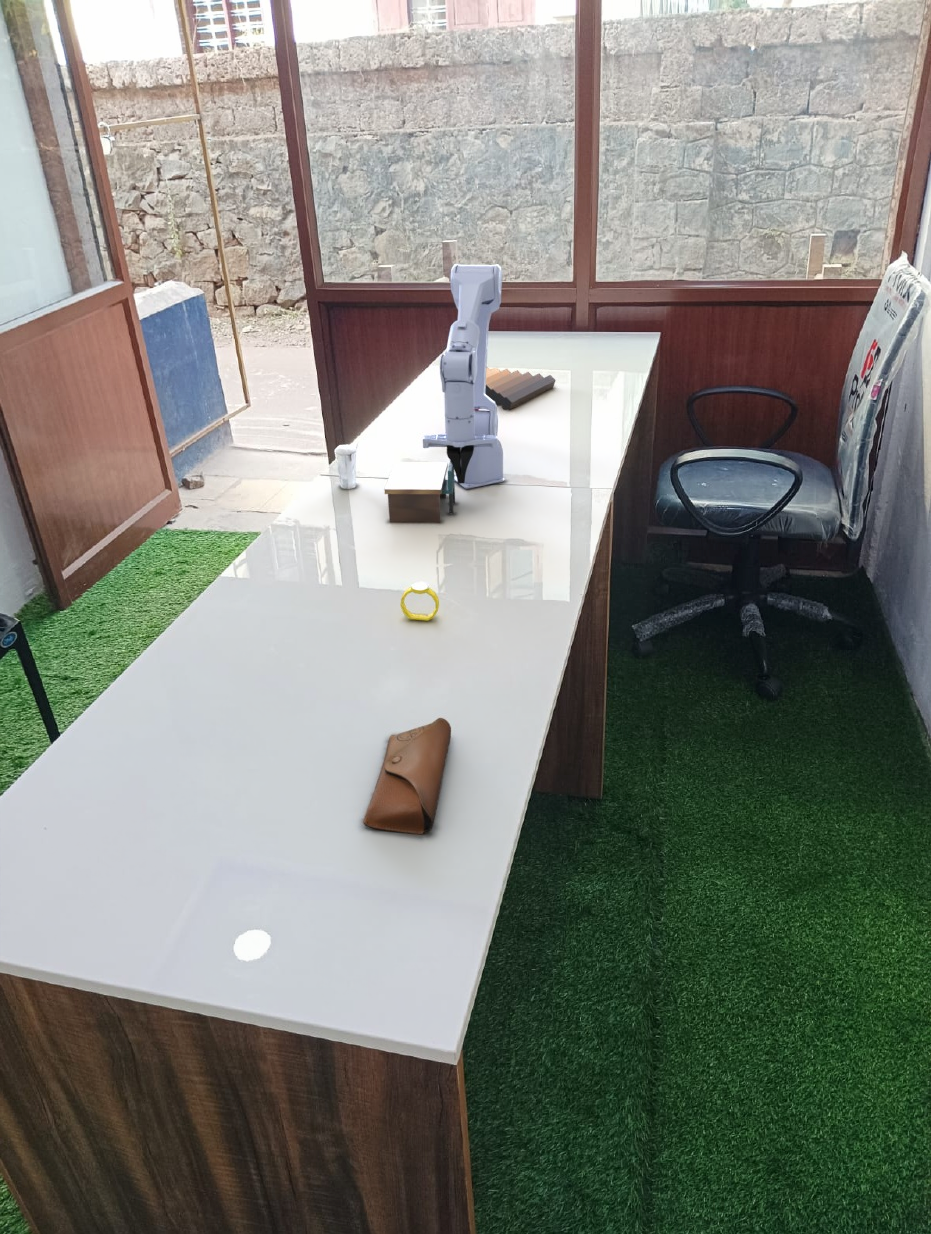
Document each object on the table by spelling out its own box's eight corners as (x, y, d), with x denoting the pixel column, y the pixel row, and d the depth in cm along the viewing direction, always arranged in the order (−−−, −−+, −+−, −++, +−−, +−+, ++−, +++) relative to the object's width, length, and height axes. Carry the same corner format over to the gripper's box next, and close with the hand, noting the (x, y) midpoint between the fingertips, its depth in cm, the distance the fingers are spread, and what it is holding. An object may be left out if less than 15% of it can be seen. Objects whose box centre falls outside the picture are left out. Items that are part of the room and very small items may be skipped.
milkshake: (358, 491, 195) (355, 446, 190) (335, 489, 196) (330, 444, 191) (365, 483, 199) (361, 438, 194) (341, 482, 200) (337, 437, 195)
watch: (400, 622, 146) (398, 589, 143) (403, 613, 148) (401, 581, 145) (437, 623, 145) (436, 590, 142) (440, 615, 148) (438, 582, 145)
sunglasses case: (386, 732, 120) (410, 697, 116) (433, 756, 121) (458, 722, 118) (360, 828, 104) (386, 790, 101) (414, 854, 105) (442, 818, 102)
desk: (448, 495, 192) (447, 462, 189) (442, 524, 179) (441, 489, 176) (396, 494, 193) (394, 462, 189) (386, 523, 180) (384, 489, 176)
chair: (455, 502, 188) (453, 460, 184) (452, 514, 183) (451, 471, 178) (418, 502, 189) (416, 460, 184) (415, 513, 183) (413, 471, 179)
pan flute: (511, 410, 243) (555, 387, 261) (511, 397, 241) (555, 375, 260) (434, 397, 255) (481, 376, 273) (433, 385, 253) (480, 364, 271)
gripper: (419, 421, 173) (423, 488, 179) (496, 421, 172) (496, 489, 179) (423, 410, 179) (426, 475, 186) (498, 410, 178) (498, 476, 185)
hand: (461, 481), depth 182 cm, fingers closed
